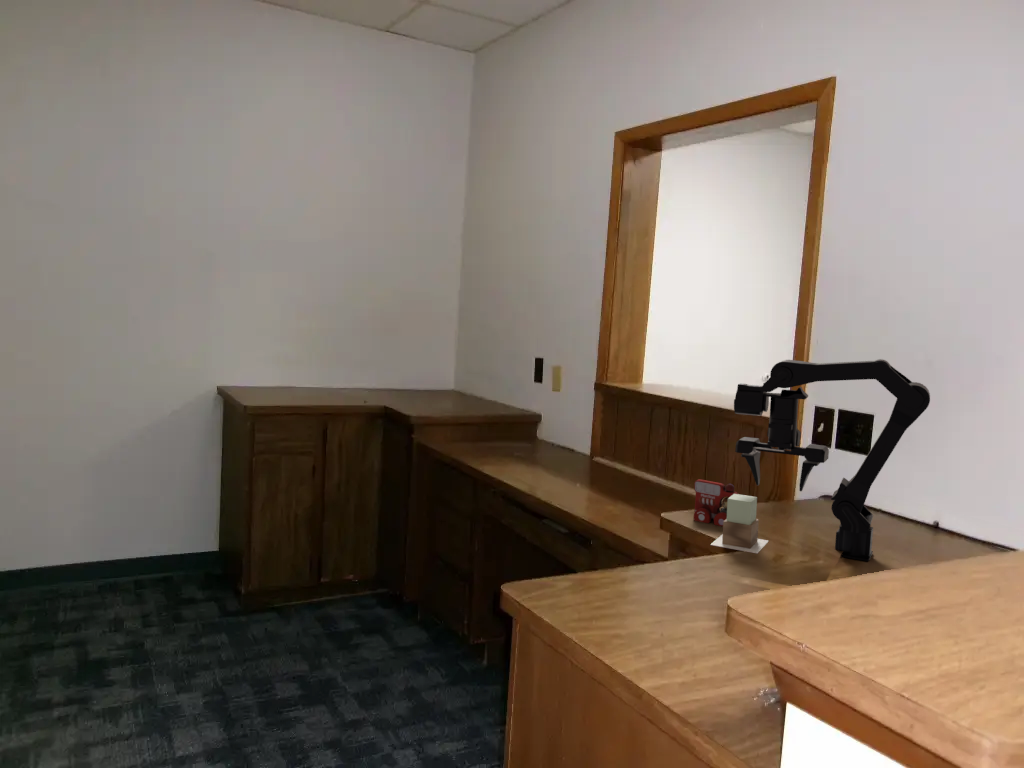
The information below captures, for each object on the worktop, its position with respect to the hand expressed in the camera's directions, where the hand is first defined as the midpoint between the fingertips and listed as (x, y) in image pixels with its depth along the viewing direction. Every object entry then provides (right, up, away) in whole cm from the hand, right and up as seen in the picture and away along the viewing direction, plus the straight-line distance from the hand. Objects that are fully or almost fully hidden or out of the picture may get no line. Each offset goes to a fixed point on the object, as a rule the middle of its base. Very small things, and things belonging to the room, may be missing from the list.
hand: (779, 487), depth 175 cm
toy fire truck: (-10, -11, +14) cm, 21 cm away
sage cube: (-9, -7, -3) cm, 12 cm away
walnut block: (-9, -12, -2) cm, 15 cm away
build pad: (-9, -13, -2) cm, 16 cm away
